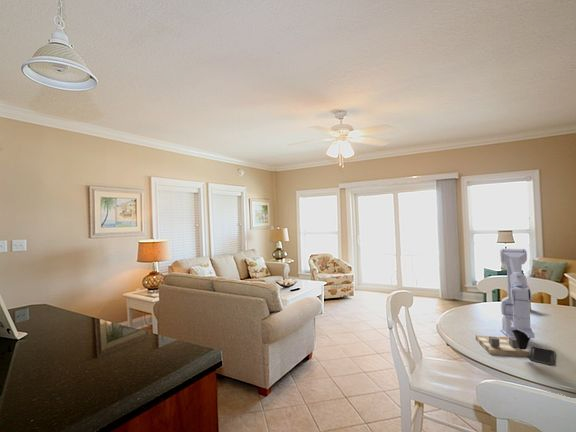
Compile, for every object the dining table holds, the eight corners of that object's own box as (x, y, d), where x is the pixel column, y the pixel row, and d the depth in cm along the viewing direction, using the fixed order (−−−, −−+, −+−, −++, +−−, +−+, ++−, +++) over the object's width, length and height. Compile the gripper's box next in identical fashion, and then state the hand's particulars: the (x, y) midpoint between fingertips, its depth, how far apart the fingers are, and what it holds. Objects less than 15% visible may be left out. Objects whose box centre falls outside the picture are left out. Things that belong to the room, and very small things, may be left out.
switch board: (475, 339, 147) (475, 335, 147) (511, 341, 143) (510, 336, 143) (489, 353, 131) (489, 349, 131) (529, 356, 128) (529, 351, 128)
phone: (529, 358, 125) (531, 346, 136) (529, 361, 125) (532, 348, 136) (554, 364, 119) (555, 351, 130) (554, 367, 119) (555, 353, 130)
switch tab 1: (489, 343, 136) (488, 336, 136) (496, 343, 136) (496, 336, 136) (491, 345, 134) (491, 339, 134) (499, 346, 133) (499, 339, 133)
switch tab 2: (509, 344, 135) (508, 337, 135) (516, 344, 134) (516, 337, 134) (512, 346, 132) (512, 340, 132) (520, 347, 131) (520, 340, 131)
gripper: (502, 310, 135) (503, 341, 135) (519, 321, 121) (520, 355, 120) (520, 311, 133) (521, 342, 133) (540, 322, 119) (541, 357, 119)
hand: (522, 348), depth 127 cm, fingers closed
